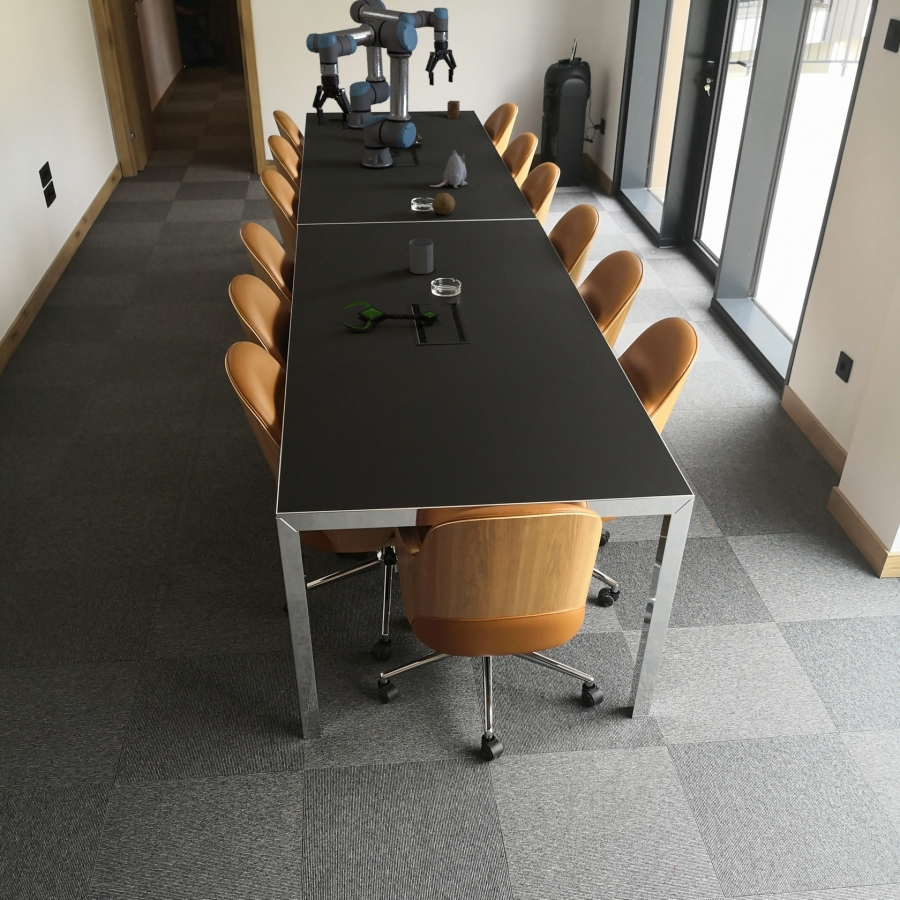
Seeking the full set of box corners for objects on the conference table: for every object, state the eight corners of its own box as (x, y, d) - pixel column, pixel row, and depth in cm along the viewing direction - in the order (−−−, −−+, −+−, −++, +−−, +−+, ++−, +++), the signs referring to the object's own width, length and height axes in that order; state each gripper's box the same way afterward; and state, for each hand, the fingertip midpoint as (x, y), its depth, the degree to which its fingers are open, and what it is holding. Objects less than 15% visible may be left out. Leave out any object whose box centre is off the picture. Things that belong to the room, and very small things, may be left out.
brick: (447, 118, 518) (447, 102, 513) (449, 116, 523) (449, 100, 518) (457, 118, 517) (457, 103, 512) (459, 116, 522) (459, 100, 517)
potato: (453, 208, 369) (453, 189, 365) (456, 218, 357) (456, 199, 353) (431, 208, 368) (430, 189, 364) (432, 218, 356) (432, 199, 352)
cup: (409, 265, 311) (408, 238, 306) (432, 265, 312) (431, 238, 307) (410, 274, 304) (409, 246, 299) (433, 273, 305) (433, 246, 299)
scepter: (438, 296, 270) (341, 293, 268) (439, 326, 263) (340, 324, 261) (437, 309, 275) (342, 306, 273) (438, 339, 268) (341, 337, 266)
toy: (472, 184, 399) (472, 151, 391) (436, 195, 384) (436, 161, 376) (457, 180, 404) (458, 147, 396) (422, 191, 389) (421, 157, 381)
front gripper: (301, 73, 366) (305, 125, 378) (347, 78, 354) (350, 132, 366) (312, 70, 371) (317, 122, 383) (358, 76, 360) (361, 129, 371)
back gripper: (427, 43, 448) (428, 87, 459) (463, 39, 462) (462, 81, 473) (418, 42, 453) (419, 85, 464) (453, 37, 467) (453, 79, 478)
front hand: (333, 127), depth 374 cm, fingers open, 13 cm apart
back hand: (441, 83), depth 469 cm, fingers open, 13 cm apart
